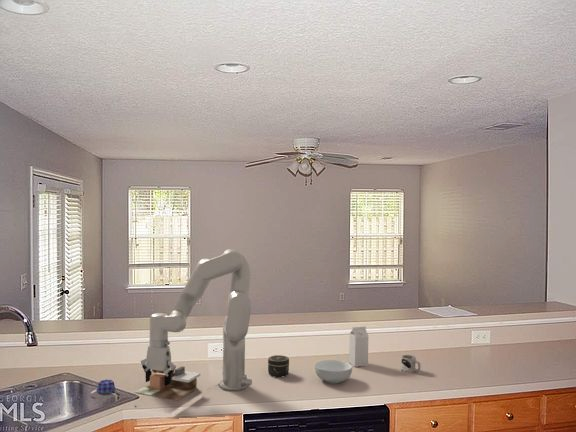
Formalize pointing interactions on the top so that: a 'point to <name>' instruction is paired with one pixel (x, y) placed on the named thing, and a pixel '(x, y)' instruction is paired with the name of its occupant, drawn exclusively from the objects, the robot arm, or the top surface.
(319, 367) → the cereal bowl
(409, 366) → the mug
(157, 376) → the terracotta block
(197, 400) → the top surface
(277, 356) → the jar
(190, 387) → the puzzle board
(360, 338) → the milk carton
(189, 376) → the sliding lid
